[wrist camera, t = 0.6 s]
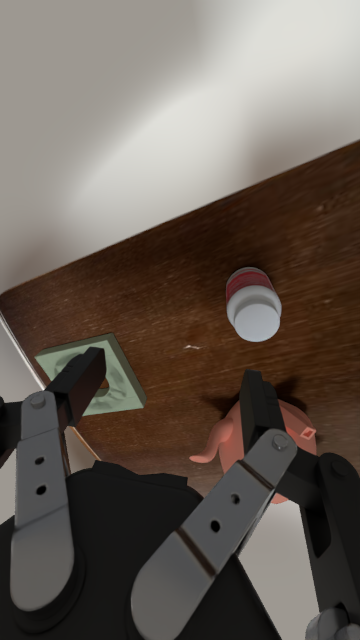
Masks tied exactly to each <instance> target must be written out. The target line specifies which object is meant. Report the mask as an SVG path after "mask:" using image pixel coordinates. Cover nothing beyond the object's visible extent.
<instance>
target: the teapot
mask: <svg viewBox="0 0 360 640" xmlns="http://www.w3.org/2000/svg"><path fill="white" fill-rule="evenodd" d="M278 401H279V406H280V409H281V412H282V416H283V420H284V423H285V427H286V431H287V433H288V434H289V435H290V436H291V437H292V438H293V439H294V441H295V443H296V445H297V446H298V447H300V448H301V449H303V450H305V451H307V452H310V453H312V454H314V455H316V440H315V435H314V433H315V432H316V431H317V430H316V429H315V428H314V427H313V426H312V423H311V421H310V419H309V417H308V416H307V415H306V414H305V413H304V412H303V411H301V410H300V409H299V408H297V407H295V406H293V405H291V404H289V403H287V402H284V401H282V400H279V399H278ZM218 446H219V455H220V460H221V464H222V468H223V471H224V474H225V473H226V472H227V471H228V470H229V469H230V467H231V466H232V465H233V464H234V463H235V462H236V461H237V460H238V459H240V460H242V459H243V458H244V448H243V437H242V426H241V414H240V403H239V401H238V402H237V403H236V404H235V405H234V406H233V407H232V408H231V409H230V411H229V412H228V414H227V415H226V417H225V419H222V420H220V421H218V422H217V423H216V424H215V425H214V427H213V428H212V430H211V432H210V435H209V439H208V442H207V446H206V448H205V449H204V451H202V452H201V453H199V454H197V455H193V456H191V457H190V460H192V461H195V462H200V463H206V462H209V461H211V460H212V459H213V458H214V457H215V455H216V452H217V449H218ZM287 500H289V499H287V498H285V497H284V496H282V495H280V494H278V493H276V495H275V497H274V498H273V500H272V501H271V503H274V504H278V503H282V502H284V501H287Z"/></svg>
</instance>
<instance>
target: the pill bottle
mask: <svg viewBox="0 0 360 640" xmlns="http://www.w3.org/2000/svg"><path fill="white" fill-rule="evenodd" d="M226 302H227V315H228V319H229V321H230V323H231V324H232V325H233V326H234V327H235V330H236V332H237V333H238V334H239V336H241V337H242V338H243V339H245V340H248V341H253V342H259V341H264V340H266V339H268V338H270V337H272V336H273V335H274V334H275V333H276V332H277V330H278V328H279V324H280V315H281V303H280V300H279V297H278V296H277V294H276V292H275V290H274V288H273V286H272V284H271V282H270V280H269V278H268V276H267V275H266V274H265V273H264V272H263V271H261V270H260V269H257V268H254V267H246V268H242V269H239V270H237V271H236V272H235V273H233V274H232V275H231V277H230V278H229V280H228V282H227V286H226Z"/></svg>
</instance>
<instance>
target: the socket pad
mask: <svg viewBox="0 0 360 640" xmlns="http://www.w3.org/2000/svg"><path fill="white" fill-rule="evenodd" d="M90 346H92V347H99V348H104V350H105V358H106V367H107V372H106V376H105V377H106V379H107V380H108V382H109V387H108V388H105V389H98V391H97V392H96V394H95V396H94V397H93V399H92V401H91V402H90V404H89V406H88V407H87V409H86V411H85V412H84V414H83V416H84V415H92V414H99V413H107V412H114V411H122V410H129V409H137V408H144V405H145V403H146V400H147V397H146V395H145V393H144V391H143V389H142V387H141V386H140V384H139V382H138V380H137V378H136V376H135V374H134V372H133V370H132V368H131V367H130V365H129V363H128V361H127V359H126V357H125V355H124V353H123V351H122V349H121V347H120V346H119V344H118V342H117V340H116V338H115V336H114V334H113V333H109V334H105V335H101V336H97V337H93V338H89V339H85V340H80V341H76V342H72V343H68V344H64V345H60V346H56V347H52V348H47V349H43V350H42V351H41V352H40V353H39V354H38V355H36V356H35V358H36V360H37V361H38V362H39V364H40V365H41V367H42V368H43V369H44V371H45V372H46V374H47V375H48V377H49V378H50V379H51V381H53V379H54V378H55V377H56V376H57V375H58V374H59V372H61V370H62V369H63V368H64V367H65V366H66V364H67V363H68V362H69V361H70V360H71V359H72V358H73V357H75V356H77V355H78V354H84V353H85V351H86V350H87V349H88V348H89V347H90Z"/></svg>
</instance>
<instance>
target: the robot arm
mask: <svg viewBox="0 0 360 640" xmlns="http://www.w3.org/2000/svg"><path fill="white" fill-rule="evenodd" d="M106 372H107V367H106V358H105V350H104V348H99V347H92V346H90V347H89V348H88V349H87V350H86V351H85V353H84V354H78V355H77V356H75V357H73V358H72V359H71V360H70V361H69V362H68V363H67V364H66V366H65V367H64V368H63V369H62V370H61V372H59V374H58V375H57V376H56V377H55V378H54V379H53V381H52V382H51V383H50V384H49V385H48V386H47V388H46V389H45V390H44V391H39V392H36V393H33V394H31V395H29V396H28V397H27V398H26V399H25V400H24V401H20V402H10V403H4V400H3V398H2V397H0V468H1V467H2V466H3V465H4V463H5V462H6V460H7V459H8V458H9V456H10V455H11V453H12V452H13V451H14V449H15V448H17V449H16V450H17V451H16V495H15V498H16V499H15V515H13V516H12V517H11V518H9V519H8V520H7V521H5V522H4V523H2V524H1V525H0V640H282V639H281V637H280V635H279V633H278V631H277V630H276V628H275V626H274V624H273V622H272V620H271V619H270V616H269V615H268V613H267V611H266V609H265V607H264V605H263V603H262V602H261V600H260V598H259V596H258V594H257V592H256V590H255V589H254V587H253V585H252V583H251V581H250V579H249V577H248V576H247V574H246V572H245V570H244V568H243V566H242V564H241V562H240V561H239V559H238V557H239V555H240V553H241V552H242V550H243V548H244V547H245V545H246V544H247V542H248V540H249V538H250V537H251V535H252V533H253V531H254V529H255V527H256V526H257V524H258V523H259V521H260V519H261V518H262V516H263V514H264V513H265V511H266V510H267V508H268V506H269V505H270V503H271V501H272V500H273V498H274V497H275V495H276V493H278V494H280V495H282V496H284V497H285V498H287V499H289V500H291V501H293V502H295V503H297V504H298V505H299V507H300V513H301V518H302V523H303V528H304V534H305V539H306V544H307V549H308V554H309V559H310V565H311V570H312V575H313V580H314V586H315V591H316V596H317V601H318V605H319V612H320V614H319V615H318V616H316V617H315V618H314V619H313V620H311V622H310V623H309V624H308V626H307V629H306V637H305V640H360V478H359V475H358V473H357V471H356V470H355V468H354V467H353V466H352V465H351V464H350V463H349V462H348V461H347V460H346V459H344V458H343V457H341V456H339V455H337V454H334V453H324V454H322V455H321V456H320V457H318V456H316V455H314V454H312V453H310V452H307V451H305V450H303V449H301V448H300V447H298V446H297V445H296V443H295V441H294V439H293V438H292V437H291V436H290V435H289V434H288V433H287V431H286V427H285V423H284V420H283V416H282V412H281V409H280V406H279V401H278V398H277V394H276V390H275V389H274V387H273V386H272V385H271V383H270V382H266V381H263V380H262V376H261V372H260V371H257V370H250V369H246V370H245V373H244V377H243V381H242V385H241V389H240V395H239V403H240V414H241V426H242V437H243V448H244V458H243V459H242V460H240V459H238V460H237V461H236V462H235V463H234V464H233V465H232V466H231V467H230V469H229V470H228V471H227V472H226V473H225V474H224V476H223V477H222V478H221V479H220V480H219V482H218V483H217V484H216V485H215V486H214V487H213V489H212V490H211V491H210V492H209V493H208V494H207V496H206V497H205V498H203V496H202V495H200V494H199V493H198V492H197V491H196V490H194V489H193V488H191V487H189V486H187V479H188V477H182V476H177V475H172V474H167V473H160V474H148V475H138V474H136V473H134V472H132V471H130V470H128V469H126V468H124V467H122V466H120V465H118V464H114V463H108V462H103V461H98V460H95V463H94V465H93V467H92V468H88V469H83V470H80V471H77V472H75V473H73V474H71V470H70V465H69V459H68V453H67V446H66V440H65V434H64V430H65V429H66V427H67V426H72V427H76V426H77V424H78V422H79V421H80V419H81V417H82V416H83V414H84V412H85V411H86V409H87V407H88V406H89V404H90V402H91V401H92V399H93V397H94V396H95V394H96V392H97V391H98V389H99V387H100V386H101V384H102V382H103V381H104V379H105V376H106Z"/></svg>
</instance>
